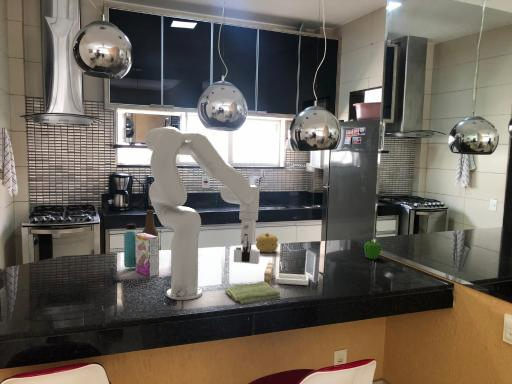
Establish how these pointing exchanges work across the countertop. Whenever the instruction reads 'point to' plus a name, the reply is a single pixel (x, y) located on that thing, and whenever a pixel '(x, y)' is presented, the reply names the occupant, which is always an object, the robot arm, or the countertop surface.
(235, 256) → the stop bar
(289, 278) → the bracket
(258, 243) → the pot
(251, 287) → the washcloth
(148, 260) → the candy bar box
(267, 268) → the rail
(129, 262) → the beverage bottle
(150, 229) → the beer bottle
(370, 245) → the bell pepper
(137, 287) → the countertop surface
